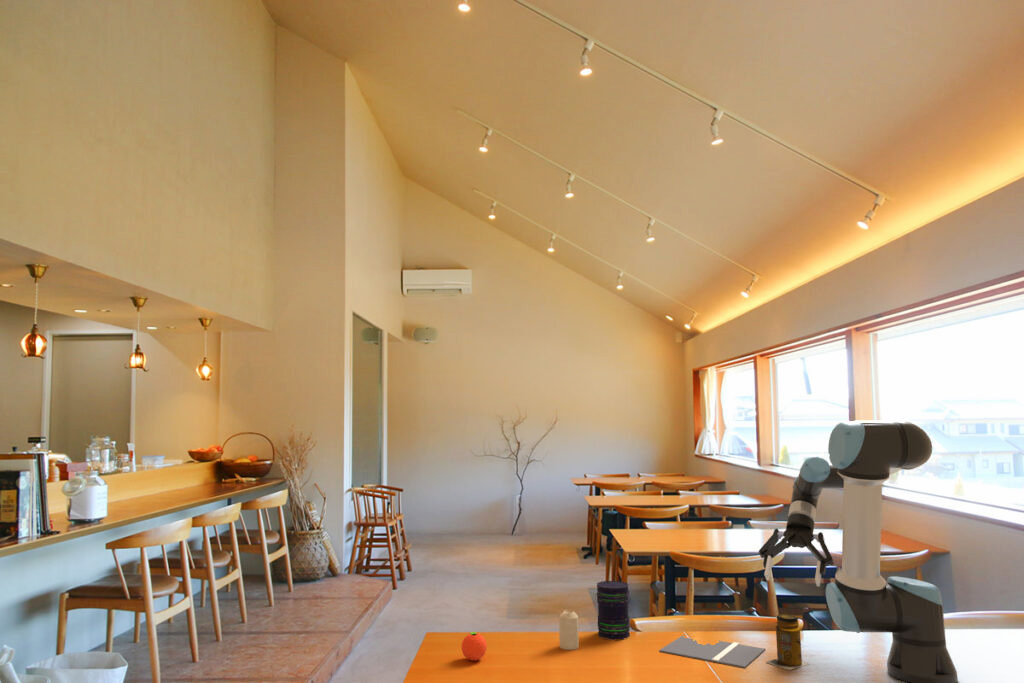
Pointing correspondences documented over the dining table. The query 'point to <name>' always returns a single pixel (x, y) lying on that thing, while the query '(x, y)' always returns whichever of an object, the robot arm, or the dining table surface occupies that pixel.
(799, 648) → the condiment
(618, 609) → the storage jar
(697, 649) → the mat
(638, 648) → the dining table surface
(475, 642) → the clementine
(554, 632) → the dining table surface
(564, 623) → the candle
